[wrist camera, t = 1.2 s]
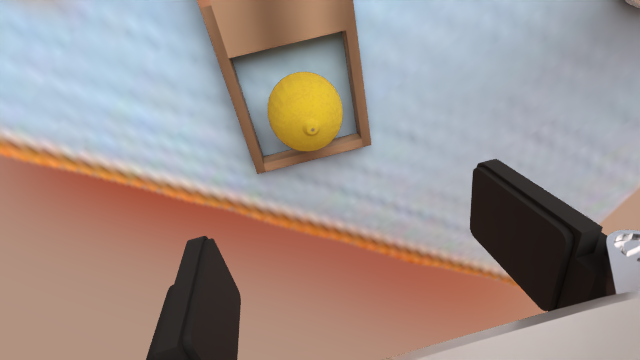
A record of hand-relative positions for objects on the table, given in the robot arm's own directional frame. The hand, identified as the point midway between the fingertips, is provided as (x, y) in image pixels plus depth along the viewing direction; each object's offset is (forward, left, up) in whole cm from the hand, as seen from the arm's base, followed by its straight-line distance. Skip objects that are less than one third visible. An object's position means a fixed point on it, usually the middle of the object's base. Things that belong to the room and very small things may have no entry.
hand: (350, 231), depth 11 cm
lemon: (0, 0, -19) cm, 19 cm away
